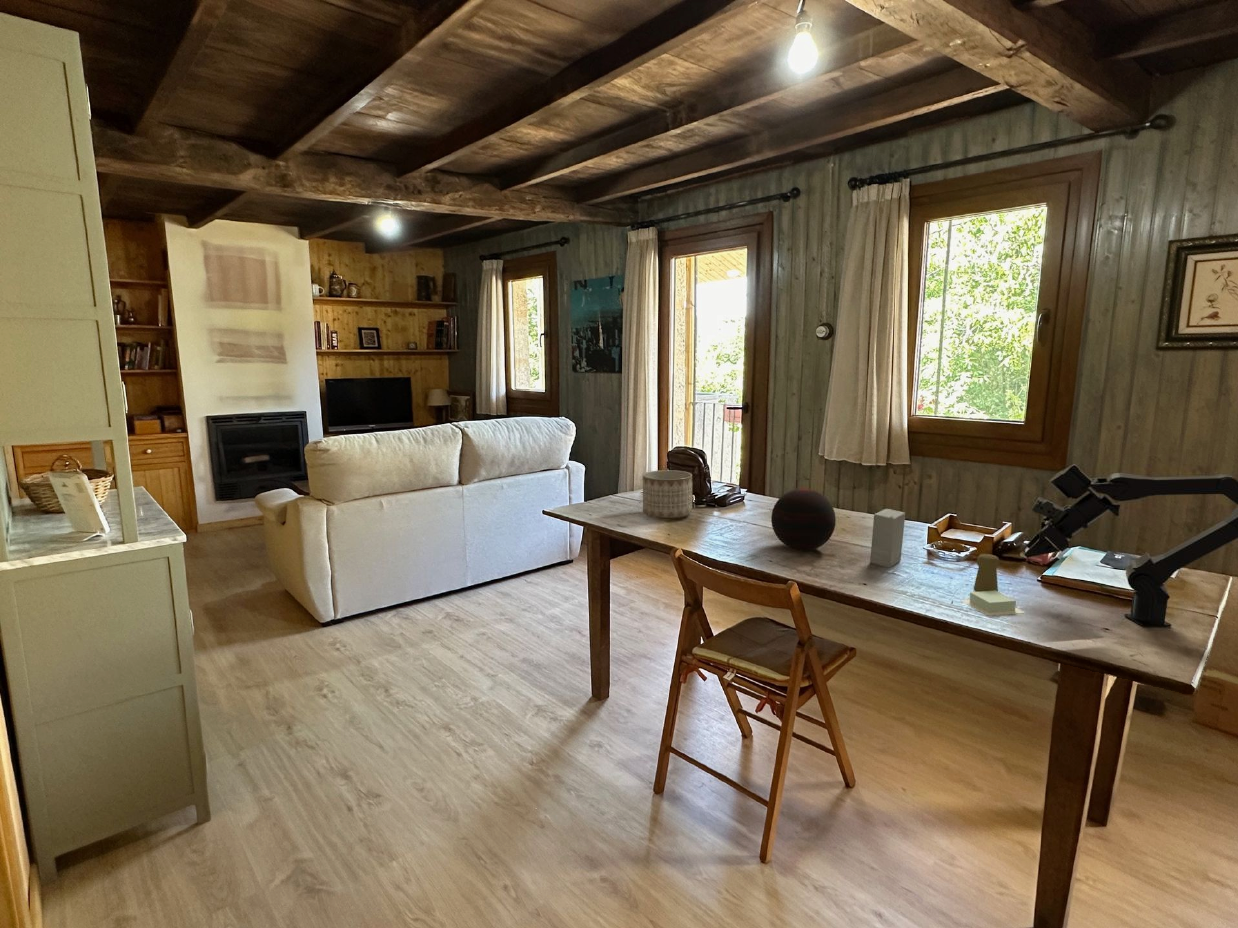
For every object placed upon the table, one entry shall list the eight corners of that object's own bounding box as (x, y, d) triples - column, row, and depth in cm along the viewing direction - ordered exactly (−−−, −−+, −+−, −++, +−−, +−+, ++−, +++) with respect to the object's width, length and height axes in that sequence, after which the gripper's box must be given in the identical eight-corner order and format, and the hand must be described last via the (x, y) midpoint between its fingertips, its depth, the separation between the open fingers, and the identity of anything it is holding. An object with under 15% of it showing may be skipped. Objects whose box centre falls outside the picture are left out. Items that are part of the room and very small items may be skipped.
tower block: (1015, 610, 161) (1016, 600, 160) (988, 612, 160) (989, 602, 159) (995, 599, 167) (995, 590, 167) (969, 601, 166) (970, 592, 166)
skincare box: (880, 557, 207) (883, 507, 204) (903, 562, 202) (906, 511, 199) (868, 563, 201) (871, 512, 198) (891, 568, 196) (894, 516, 193)
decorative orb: (805, 537, 229) (807, 480, 226) (848, 553, 212) (850, 491, 208) (758, 545, 221) (759, 486, 217) (798, 562, 203) (800, 498, 200)
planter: (645, 509, 273) (645, 469, 270) (692, 510, 270) (692, 470, 267) (640, 521, 254) (640, 479, 251) (691, 522, 251) (691, 479, 248)
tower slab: (1024, 618, 160) (1025, 612, 159) (986, 621, 158) (987, 615, 158) (995, 602, 169) (996, 597, 169) (959, 605, 168) (960, 599, 168)
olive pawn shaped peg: (975, 589, 179) (978, 550, 177) (1000, 594, 175) (1004, 554, 173) (969, 596, 174) (973, 555, 172) (995, 601, 170) (999, 560, 168)
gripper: (1056, 482, 170) (1004, 519, 178) (1054, 494, 155) (998, 535, 163) (1091, 514, 167) (1037, 552, 175) (1094, 530, 152) (1034, 570, 159)
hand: (1026, 551), depth 168 cm, fingers open, 9 cm apart
